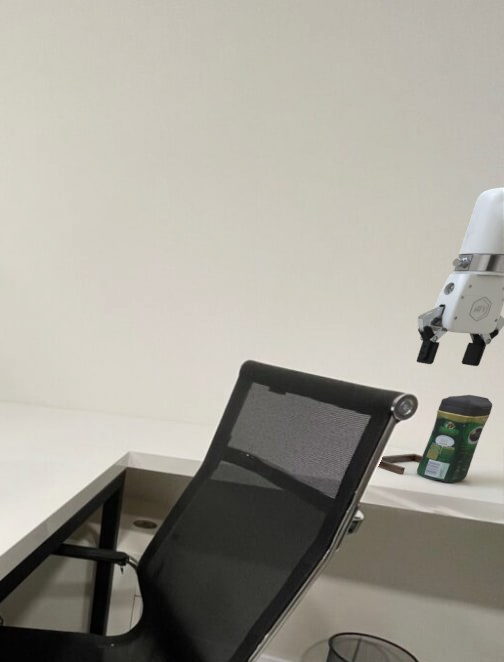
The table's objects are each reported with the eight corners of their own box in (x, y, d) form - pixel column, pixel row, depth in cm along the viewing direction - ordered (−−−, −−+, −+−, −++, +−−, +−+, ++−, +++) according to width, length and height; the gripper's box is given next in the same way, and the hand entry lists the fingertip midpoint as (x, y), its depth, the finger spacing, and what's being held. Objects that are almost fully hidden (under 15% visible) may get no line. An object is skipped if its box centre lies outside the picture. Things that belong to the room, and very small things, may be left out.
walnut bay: (445, 469, 131) (448, 463, 130) (400, 474, 125) (402, 468, 124) (412, 459, 137) (414, 453, 137) (367, 463, 132) (369, 457, 131)
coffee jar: (432, 469, 130) (461, 391, 123) (470, 480, 124) (503, 398, 117) (408, 473, 126) (437, 392, 119) (446, 485, 119) (479, 400, 112)
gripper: (455, 263, 94) (422, 365, 100) (543, 269, 96) (505, 368, 103) (420, 264, 101) (391, 359, 107) (503, 269, 103) (469, 362, 109)
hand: (447, 364), depth 105 cm, fingers open, 9 cm apart
